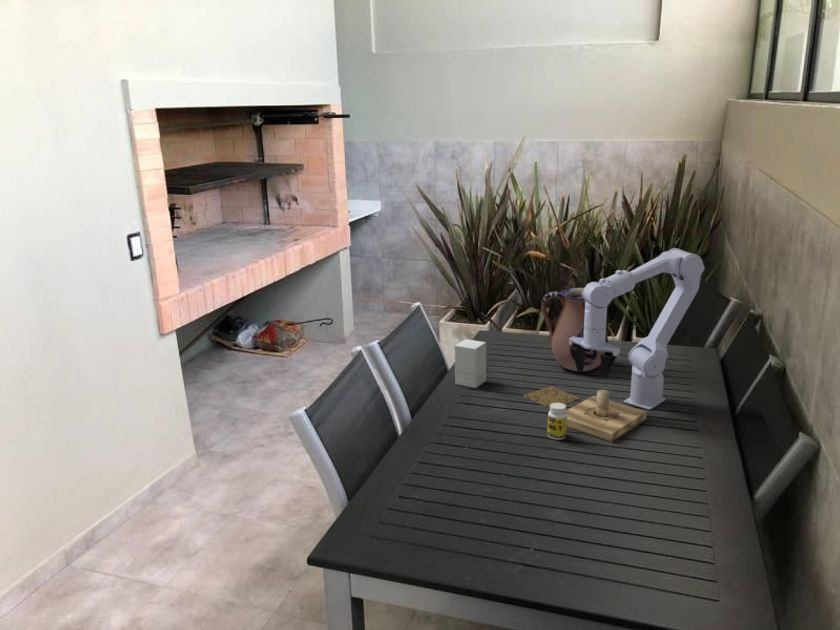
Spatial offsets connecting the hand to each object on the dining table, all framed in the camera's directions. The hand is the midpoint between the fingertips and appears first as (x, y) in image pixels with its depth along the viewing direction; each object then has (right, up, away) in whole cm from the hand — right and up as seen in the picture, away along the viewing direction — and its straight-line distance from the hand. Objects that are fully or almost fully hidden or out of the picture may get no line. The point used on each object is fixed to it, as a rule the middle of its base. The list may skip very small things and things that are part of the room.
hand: (592, 374), depth 188 cm
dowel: (+1, -12, -6) cm, 13 cm away
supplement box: (-32, -5, +23) cm, 39 cm away
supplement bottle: (-12, -15, -13) cm, 23 cm away
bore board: (+1, -12, -6) cm, 14 cm away
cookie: (-9, -8, +10) cm, 16 cm away
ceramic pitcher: (+2, -1, +33) cm, 33 cm away
